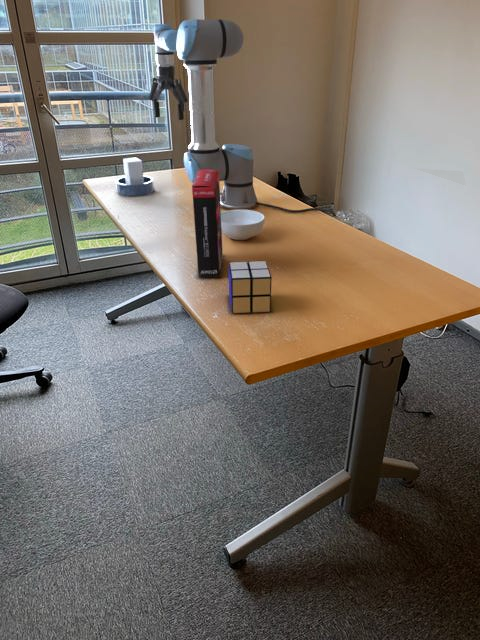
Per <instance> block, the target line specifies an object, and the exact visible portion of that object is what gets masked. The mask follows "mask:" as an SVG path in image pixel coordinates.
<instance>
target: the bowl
mask: <svg viewBox="0 0 480 640" xmlns="http://www.w3.org/2000/svg"><path fill="white" fill-rule="evenodd" d="M143 177H144V184H137V185H126V181H125V176H121V177H119V178H117V179H116V180H115V185H116V192H117V194H119V195H121V196H124V197H141V196H147V195H149V194H152V192H153V191H154V190H155V186H154V178H153V177H151V176H148V175H143Z"/></svg>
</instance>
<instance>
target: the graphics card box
mask: <svg viewBox="0 0 480 640" xmlns="http://www.w3.org/2000/svg"><path fill="white" fill-rule="evenodd" d="M220 186H221V185H220V181H219V171H217V170H198V172H197V173H196V176H195V179H194V182H193V183H192V185H191V193H192V205H193V221H194V233H195V234H194V235H195V247H196V260H197V261H196V262H197V274H198V278H200V279H201V278H203V279H204V278H220V277H221V271H222V261H223V255H224V254H223V234H222V229H221V212H222V209H221V208H222V207H221V206H220V197H221V196H220V193H221V187H220Z"/></svg>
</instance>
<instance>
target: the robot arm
mask: <svg viewBox="0 0 480 640" xmlns="http://www.w3.org/2000/svg"><path fill="white" fill-rule="evenodd" d="M153 37H154V48H155V61H156V65H157V67H156V75H157V76H158V77H157V76H156V77H152V84H151V87H150V90H149V91H150V92H149V94H148V95H149V96H148V100H149V101H151V102H152V108H153V110H154V119H155V118H156V119H157V118H161V111H160V109H161V108H160V101H159V98H160V97H161V95H162V93H163V91H164V90H167V91H170V92H171V93H172V94H173V97H174V98H175V99H176V101H177V102H178V104H177V115H178V121H183V120H184V119H185V117H184V112H185V104H186V103H188V102H189V111H190V113H189V114H190V125H191V126H190V129H191V142H190V144H189V145H188V147H187V148H188V151H186V152H185V153H184V154H183V164H184V169H185V173H186V176H187V178H188V179H189V181H190V182H191V183H192V184H193V182H194V179H195V176H196V173H197V172H198V170H217V171H219V182H223V187H222V190H221V192H220V207H221V208H222V209H225V210H228V211H229V210H252V209H254V208H256V207H257V206H262V207H265V208H266V207H267V208H271V209H276V210H280V211H283V212H285V213H304V212H310V211H311V212H313V211H315V212H317V211H318V212H329V214H331V215H332V216H333V217H334V218H337V217H338V216H337V214H336V213H335V212H334V211H333V210H332V209H330V208H326V207H323V208H321V207H309V208H304V209H303V208H302V209H288V208H285V207H281V206H276V205H272V204H269V203H263V202H258V198H257V195H256V191H255V187H254V151H253V149H252V148H251V147H249V146H247V145H242V144H237V143H227V144H226V143H224V144H223V145H222V149H220V145H219V144H218V143H217V142H216V130H215V129H216V128H215V127H216V125H215V99H214V97H215V96H214V95H215V94H214V69H215V68H216V66H217V65H218V62H217V61H218V59H225V58H227V59H228V58H231V57H233V56H235V55H236V54H238V53H239V52H240V51H241V49H242V47H243V44H244V42H245V41H244V40H245V39H244V38H245V37H244V34H243V31H242V28H241V27H240V26H239V25H238V24H237V23H236V22H234V21H231V20H229V19H222V18H221V19H196V18H193V19H186V20H183V21H182V22H181V23H180V24H179V26H178V29H173V26H172V25H171V24H170V23H156V24H154V26H153ZM175 52H176V53H177V57H178V59H179V60H182V64H183V66H184V67H185V69H187V76H188V93H189V100H188V97H187V95H186V93H185V90H184V88H183V85H182V79H181V78H175V75H176V71H175V70H176V69H175V66H174V65H175V56H174V53H175Z"/></svg>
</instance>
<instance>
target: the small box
mask: <svg viewBox="0 0 480 640" xmlns="http://www.w3.org/2000/svg"><path fill="white" fill-rule="evenodd" d="M122 163H123V170H124V177H125V181H126V185H137V184H144V177H143V176H144V169H143V168H144V167H143V160H141V159H139V158H138V157H127V158H123V159H122Z"/></svg>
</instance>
